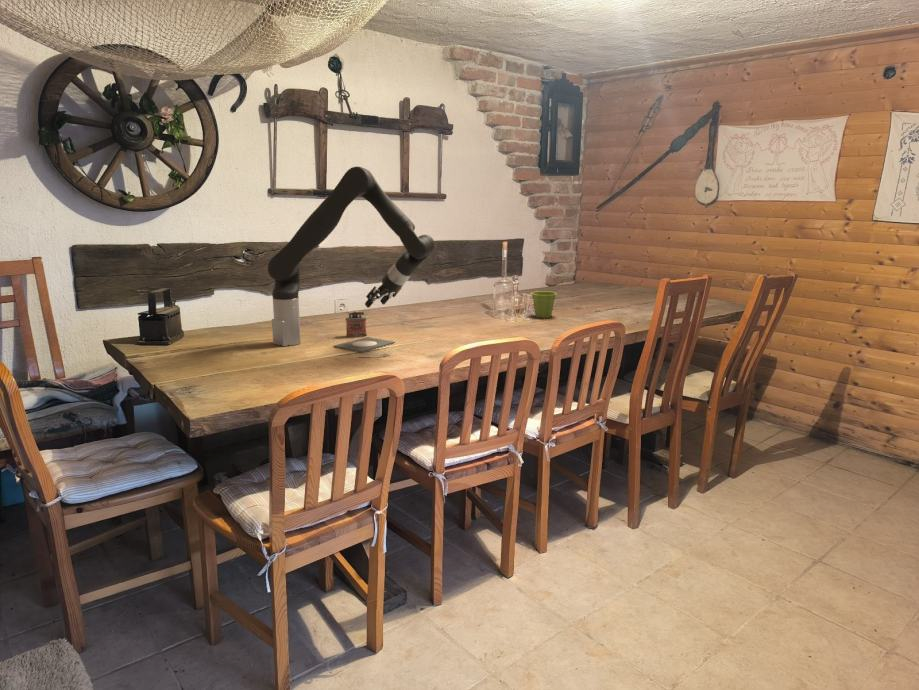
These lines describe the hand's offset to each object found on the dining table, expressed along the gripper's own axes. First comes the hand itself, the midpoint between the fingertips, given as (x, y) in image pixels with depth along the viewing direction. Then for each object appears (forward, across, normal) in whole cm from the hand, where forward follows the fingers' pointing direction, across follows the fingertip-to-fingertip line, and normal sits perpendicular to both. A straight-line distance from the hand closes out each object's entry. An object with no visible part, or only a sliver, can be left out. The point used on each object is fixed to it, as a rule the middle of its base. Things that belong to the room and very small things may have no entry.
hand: (374, 304), depth 239 cm
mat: (+8, +9, +12) cm, 17 cm away
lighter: (+17, 0, +3) cm, 17 cm away
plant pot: (-11, -81, +31) cm, 88 cm away
